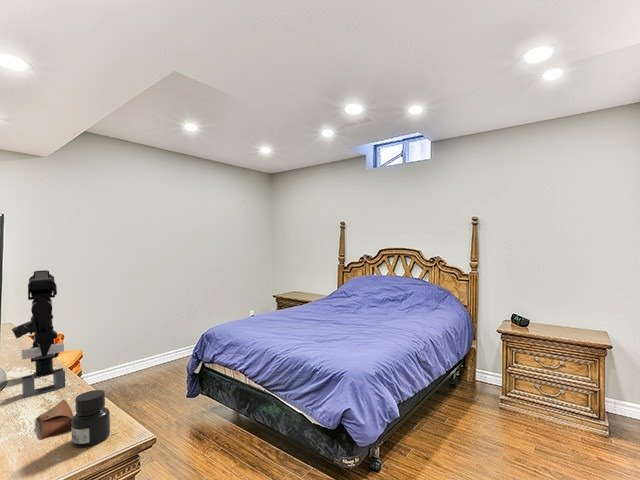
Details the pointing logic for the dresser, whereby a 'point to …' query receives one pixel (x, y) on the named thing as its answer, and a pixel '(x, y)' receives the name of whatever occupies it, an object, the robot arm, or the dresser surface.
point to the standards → (30, 390)
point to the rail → (37, 352)
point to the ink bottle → (90, 419)
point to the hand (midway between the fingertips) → (43, 355)
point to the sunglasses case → (55, 420)
